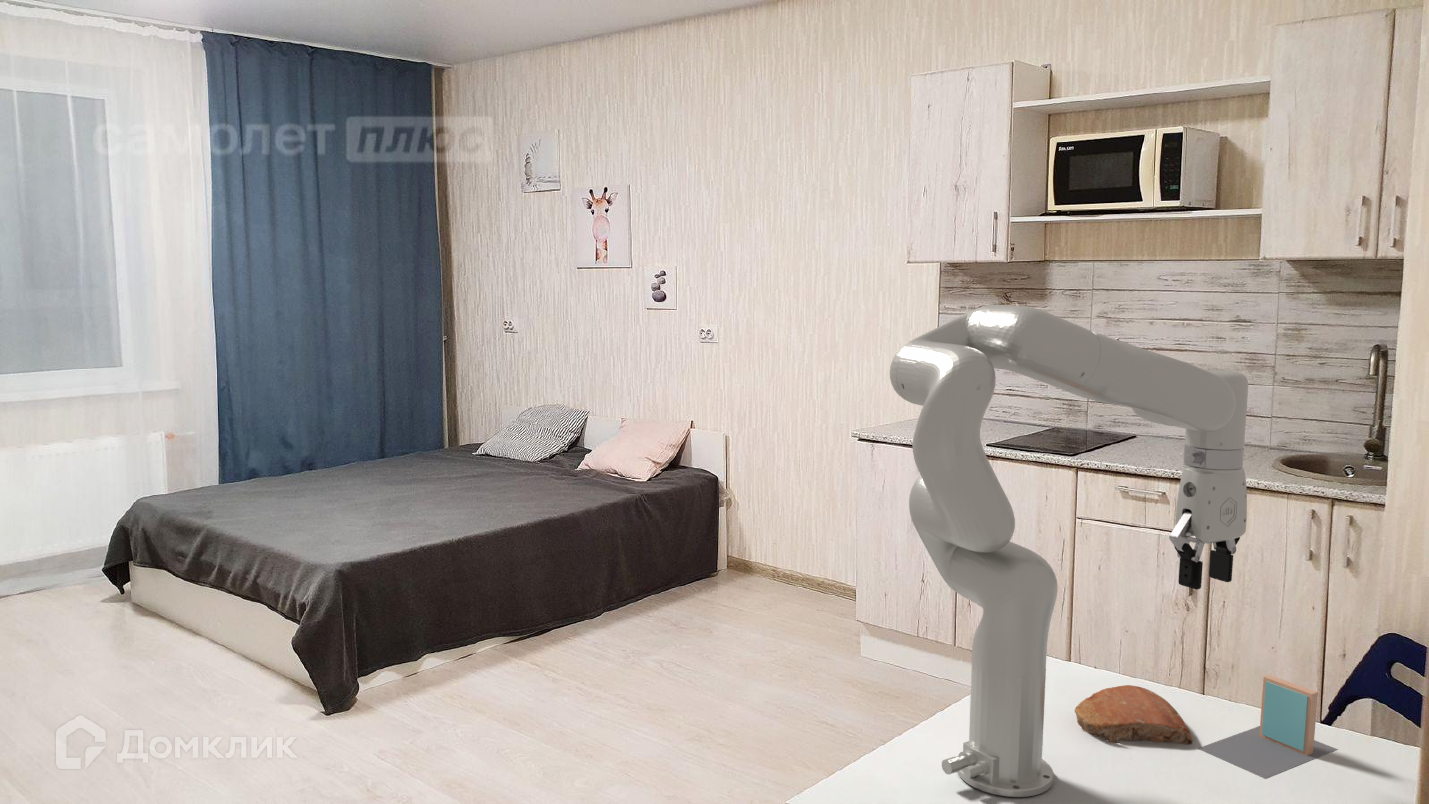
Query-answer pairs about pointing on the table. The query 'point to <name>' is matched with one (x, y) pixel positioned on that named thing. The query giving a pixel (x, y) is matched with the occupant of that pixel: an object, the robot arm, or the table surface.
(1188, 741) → the ceramic shard
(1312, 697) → the tile
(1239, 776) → the table surface
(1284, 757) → the mat
